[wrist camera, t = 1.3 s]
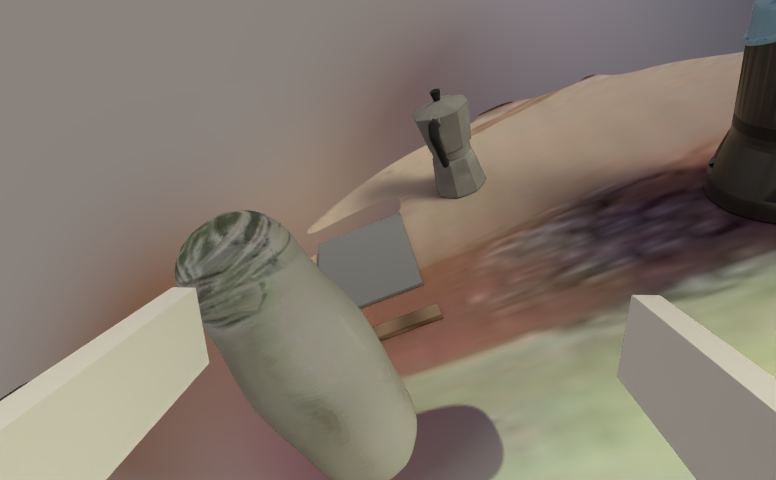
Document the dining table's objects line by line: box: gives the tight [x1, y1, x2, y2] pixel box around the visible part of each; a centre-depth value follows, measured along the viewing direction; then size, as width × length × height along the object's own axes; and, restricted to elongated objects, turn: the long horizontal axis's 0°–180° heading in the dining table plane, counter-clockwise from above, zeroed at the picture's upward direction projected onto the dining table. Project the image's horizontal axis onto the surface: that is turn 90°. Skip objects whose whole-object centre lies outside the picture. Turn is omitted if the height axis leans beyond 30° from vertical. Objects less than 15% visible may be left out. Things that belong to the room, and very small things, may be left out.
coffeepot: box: [412, 89, 486, 198], centre depth 65 cm, size 15×9×18 cm, turn 166°
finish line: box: [372, 303, 443, 341], centre depth 49 cm, size 20×2×1 cm, turn 99°
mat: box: [318, 213, 423, 309], centre depth 62 cm, size 16×20×1 cm
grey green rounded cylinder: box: [175, 210, 417, 480], centre depth 30 cm, size 10×10×28 cm
